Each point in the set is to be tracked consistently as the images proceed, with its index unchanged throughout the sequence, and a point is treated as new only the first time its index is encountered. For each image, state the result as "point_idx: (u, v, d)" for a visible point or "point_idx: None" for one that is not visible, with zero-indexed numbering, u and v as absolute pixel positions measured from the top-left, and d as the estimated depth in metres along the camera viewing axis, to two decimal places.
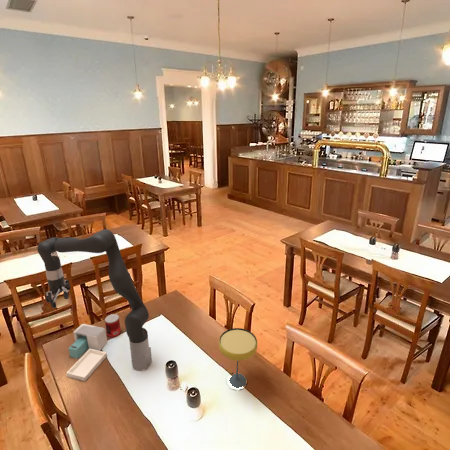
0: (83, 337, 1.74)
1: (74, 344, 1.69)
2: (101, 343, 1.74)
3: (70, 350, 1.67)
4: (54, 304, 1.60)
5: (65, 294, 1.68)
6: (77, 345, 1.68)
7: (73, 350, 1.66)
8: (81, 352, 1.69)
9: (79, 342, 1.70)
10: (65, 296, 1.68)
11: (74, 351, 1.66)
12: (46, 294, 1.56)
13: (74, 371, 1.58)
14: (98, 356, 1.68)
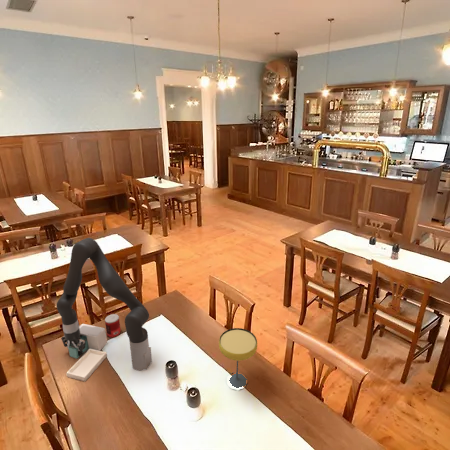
0: (84, 337, 1.74)
1: None
2: (101, 343, 1.74)
3: (70, 349, 1.67)
4: (81, 350, 1.69)
5: None
6: None
7: (73, 350, 1.66)
8: None
9: None
10: None
11: (73, 351, 1.66)
12: (83, 343, 1.64)
13: (74, 371, 1.58)
14: (98, 356, 1.68)
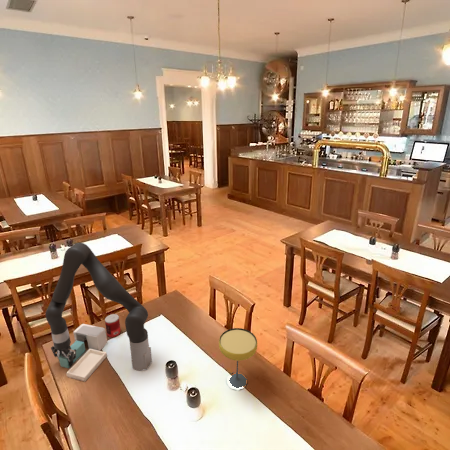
0: (74, 345, 1.68)
1: None
2: (101, 343, 1.74)
3: (60, 359, 1.60)
4: None
5: None
6: None
7: (64, 359, 1.59)
8: None
9: None
10: None
11: (64, 360, 1.60)
12: (74, 353, 1.58)
13: (74, 371, 1.58)
14: (98, 356, 1.68)
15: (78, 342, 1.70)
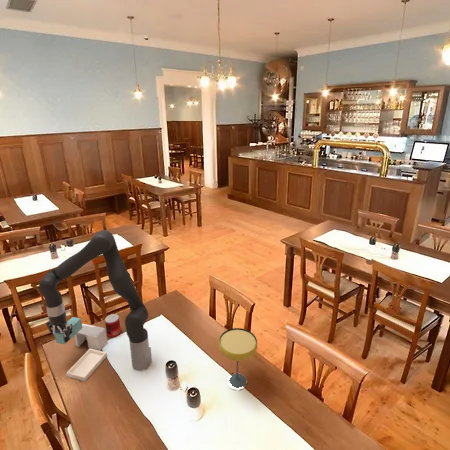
0: (70, 321, 1.61)
1: None
2: (101, 343, 1.74)
3: (56, 335, 1.54)
4: None
5: None
6: (63, 329, 1.55)
7: (59, 335, 1.53)
8: None
9: None
10: None
11: (60, 336, 1.53)
12: (70, 328, 1.51)
13: (74, 371, 1.58)
14: (98, 356, 1.68)
15: (74, 318, 1.64)
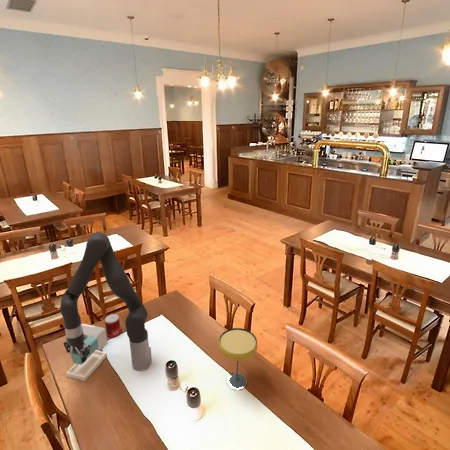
0: (87, 341, 1.61)
1: None
2: (101, 343, 1.74)
3: (73, 355, 1.53)
4: None
5: None
6: None
7: (77, 355, 1.52)
8: None
9: None
10: None
11: (77, 356, 1.53)
12: (87, 349, 1.51)
13: (74, 371, 1.58)
14: (98, 356, 1.68)
15: (91, 338, 1.63)
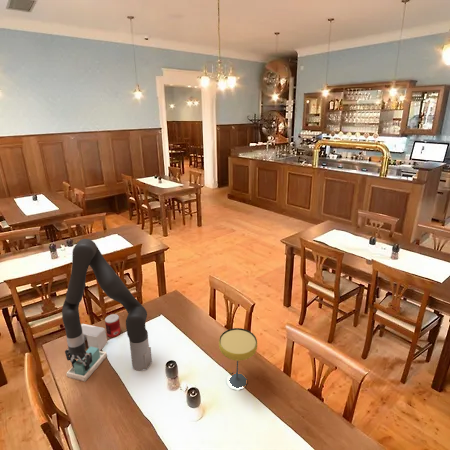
0: (89, 351, 1.63)
1: (79, 360, 1.58)
2: (101, 343, 1.74)
3: (75, 366, 1.55)
4: None
5: (75, 361, 1.57)
6: None
7: (79, 366, 1.54)
8: None
9: None
10: None
11: (79, 367, 1.55)
12: (89, 357, 1.52)
13: (74, 371, 1.58)
14: None
15: (92, 348, 1.65)
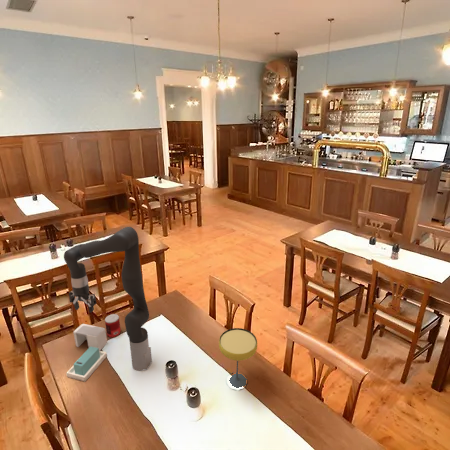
0: (89, 351, 1.63)
1: (79, 360, 1.58)
2: (101, 343, 1.74)
3: (75, 366, 1.55)
4: (92, 307, 1.63)
5: (77, 304, 1.64)
6: (83, 361, 1.57)
7: (79, 366, 1.54)
8: (87, 368, 1.58)
9: (84, 358, 1.59)
10: (77, 305, 1.64)
11: (79, 367, 1.55)
12: (93, 297, 1.59)
13: (74, 371, 1.58)
14: None
15: (92, 348, 1.65)
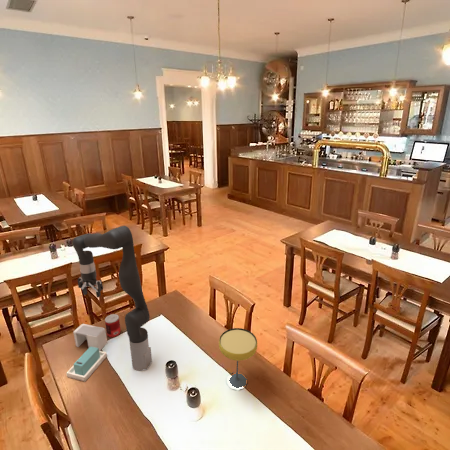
0: (89, 351, 1.63)
1: (79, 360, 1.58)
2: (101, 343, 1.74)
3: (75, 366, 1.55)
4: (99, 292, 1.73)
5: (85, 289, 1.74)
6: (83, 361, 1.57)
7: (79, 366, 1.54)
8: (87, 368, 1.58)
9: (84, 358, 1.59)
10: (85, 291, 1.74)
11: (79, 367, 1.55)
12: (100, 283, 1.69)
13: (74, 371, 1.58)
14: None
15: (92, 348, 1.65)
